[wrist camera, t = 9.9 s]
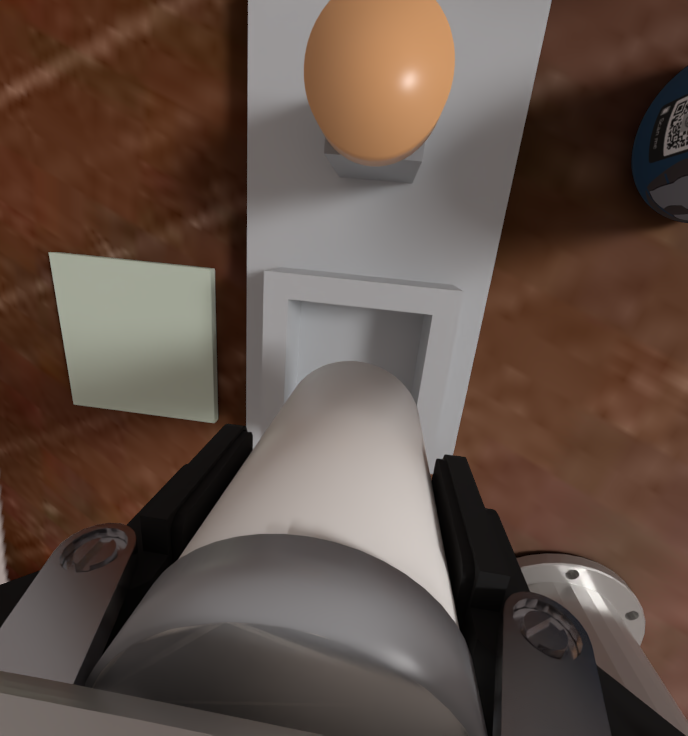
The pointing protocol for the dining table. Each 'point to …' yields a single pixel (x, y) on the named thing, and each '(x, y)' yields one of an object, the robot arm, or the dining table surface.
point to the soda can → (664, 151)
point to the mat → (139, 335)
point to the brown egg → (379, 76)
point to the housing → (380, 218)
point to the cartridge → (314, 581)
